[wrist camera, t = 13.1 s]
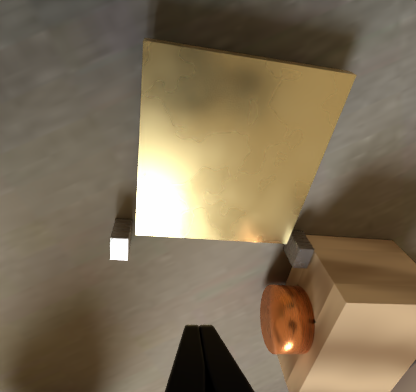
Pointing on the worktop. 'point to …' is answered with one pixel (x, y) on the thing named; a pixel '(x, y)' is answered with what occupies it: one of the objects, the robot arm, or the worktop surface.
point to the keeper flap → (230, 141)
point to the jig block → (355, 316)
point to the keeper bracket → (295, 248)
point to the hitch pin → (287, 319)
